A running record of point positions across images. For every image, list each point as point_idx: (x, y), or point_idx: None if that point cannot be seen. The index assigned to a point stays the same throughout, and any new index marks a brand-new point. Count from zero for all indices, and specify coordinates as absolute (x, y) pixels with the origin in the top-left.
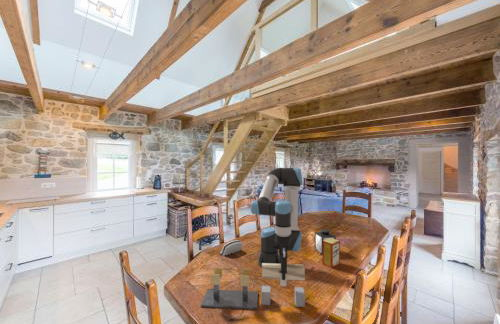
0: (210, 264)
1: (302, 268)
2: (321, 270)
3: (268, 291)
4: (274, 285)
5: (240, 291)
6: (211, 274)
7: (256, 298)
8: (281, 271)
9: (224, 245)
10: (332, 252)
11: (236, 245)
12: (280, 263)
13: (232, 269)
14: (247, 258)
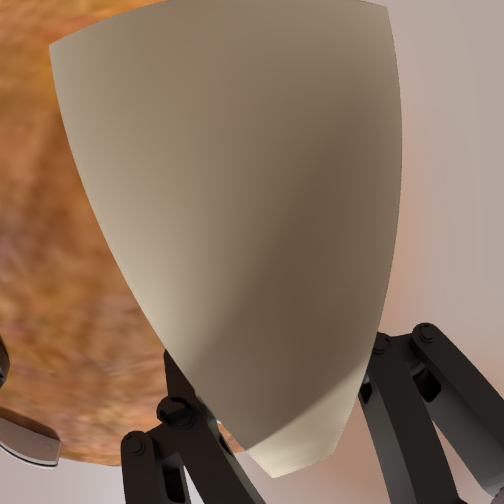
0: (120, 450)
1: (388, 73)
2: None
3: None
4: (84, 289)
5: None
6: (318, 462)
7: None
8: (426, 372)
9: (55, 467)
10: None
11: (17, 445)
12: (230, 452)
13: (98, 421)
14: (11, 401)
